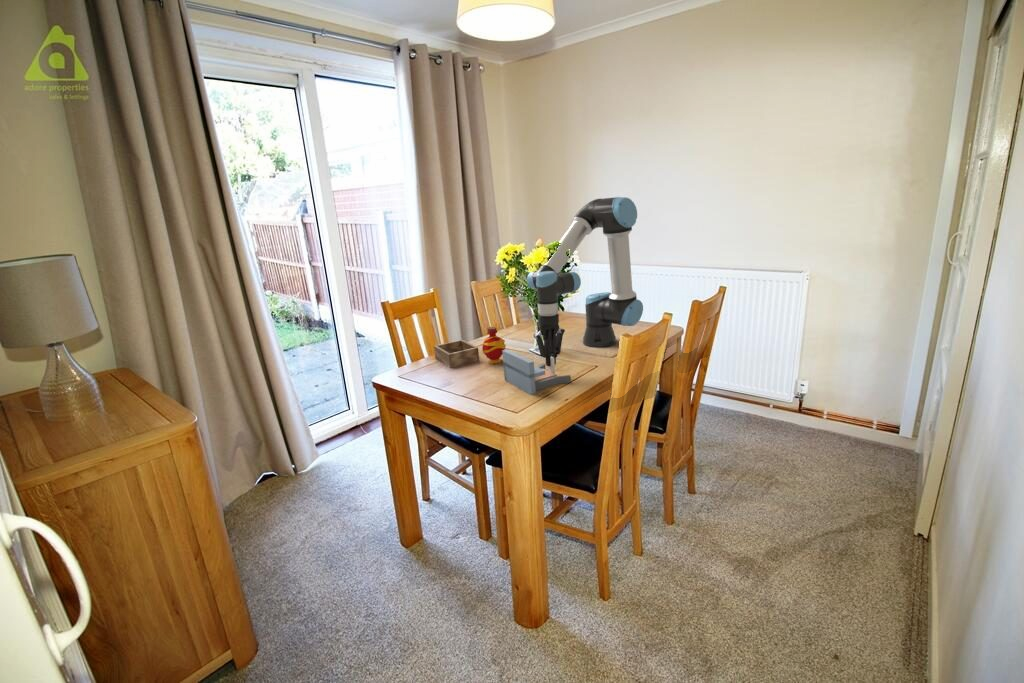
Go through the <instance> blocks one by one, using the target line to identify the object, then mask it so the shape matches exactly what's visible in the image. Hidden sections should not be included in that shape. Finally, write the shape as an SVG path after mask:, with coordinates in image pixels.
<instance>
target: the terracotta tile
mask: <svg viewBox="0 0 1024 683" xmlns="http://www.w3.org/2000/svg"><path fill="white" fill-rule="evenodd" d="M543 370H545V369H543ZM555 376H558V375H557V373H555V374H554V373H552V372H550V371H548V369H546V370H545V375H542V376H539V377H535V382H537V381H540V380H544V379H547V378H551V377H555Z"/></svg>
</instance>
